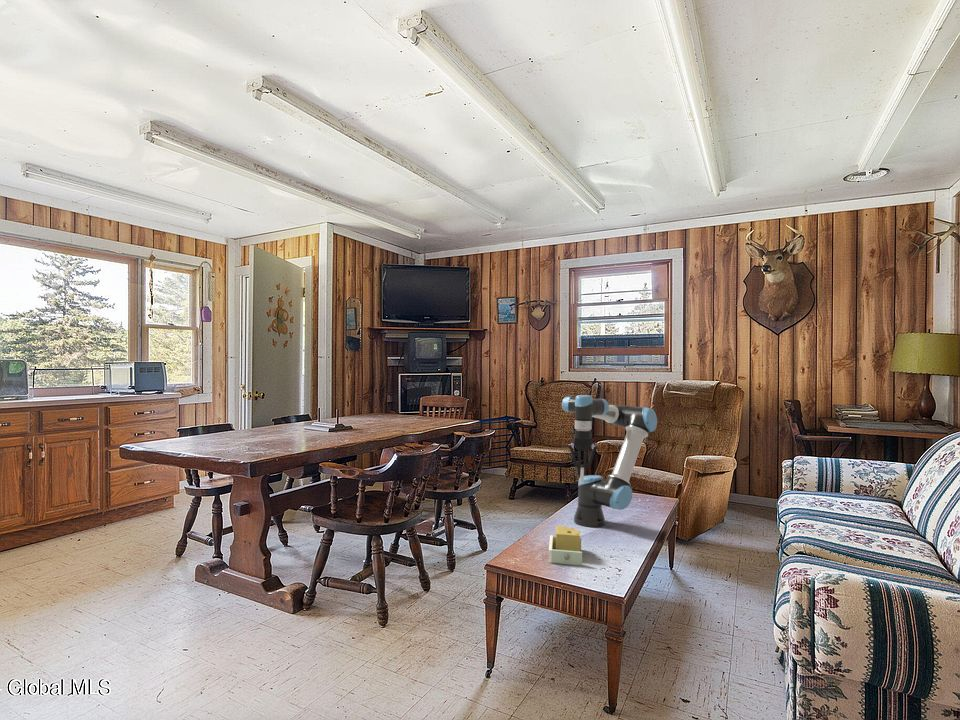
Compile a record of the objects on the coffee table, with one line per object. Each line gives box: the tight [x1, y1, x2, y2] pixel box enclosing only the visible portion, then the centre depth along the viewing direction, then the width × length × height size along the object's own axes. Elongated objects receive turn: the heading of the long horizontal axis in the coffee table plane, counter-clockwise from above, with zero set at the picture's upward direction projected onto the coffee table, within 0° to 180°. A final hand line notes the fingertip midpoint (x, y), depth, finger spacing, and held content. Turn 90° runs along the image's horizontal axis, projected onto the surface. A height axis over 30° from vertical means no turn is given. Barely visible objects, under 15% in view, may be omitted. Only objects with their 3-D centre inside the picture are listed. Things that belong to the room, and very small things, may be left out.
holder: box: [548, 534, 583, 566], centre depth 212 cm, size 19×13×5 cm
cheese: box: [555, 525, 581, 552], centre depth 214 cm, size 10×11×10 cm
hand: (581, 482), depth 229 cm, fingers closed
